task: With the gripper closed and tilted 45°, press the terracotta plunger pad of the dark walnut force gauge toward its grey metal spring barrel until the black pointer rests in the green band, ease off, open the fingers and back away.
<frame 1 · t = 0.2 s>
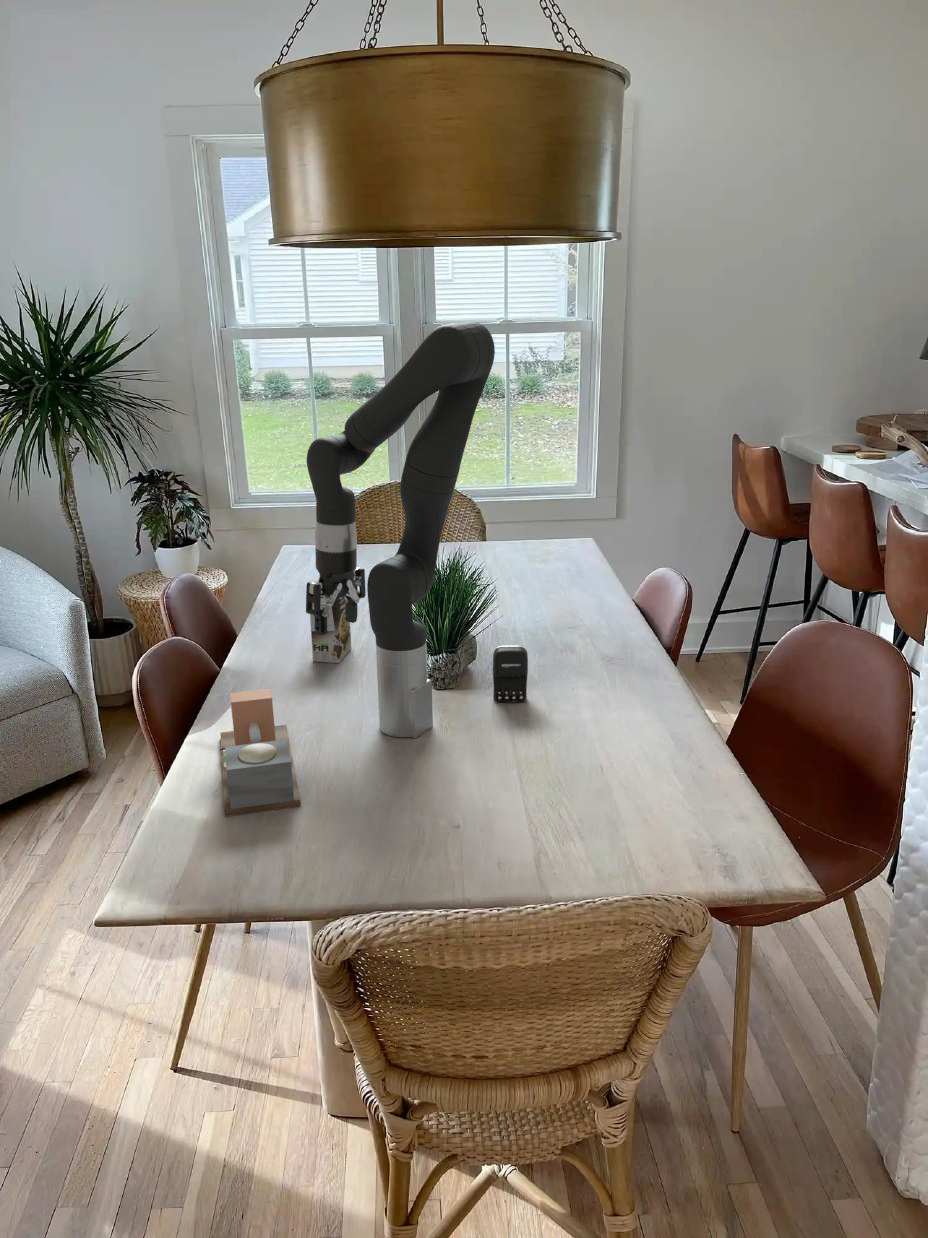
hand: (336, 627, 184), 18 cm above the table, tool pointing down, fingers open, 8 cm apart
coffee box: (332, 655, 218), on the table
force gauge: (258, 770, 169), on the table
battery: (510, 702, 194), on the table
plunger: (246, 728, 170), point 6 cm above the table, slide at 0.0 cm
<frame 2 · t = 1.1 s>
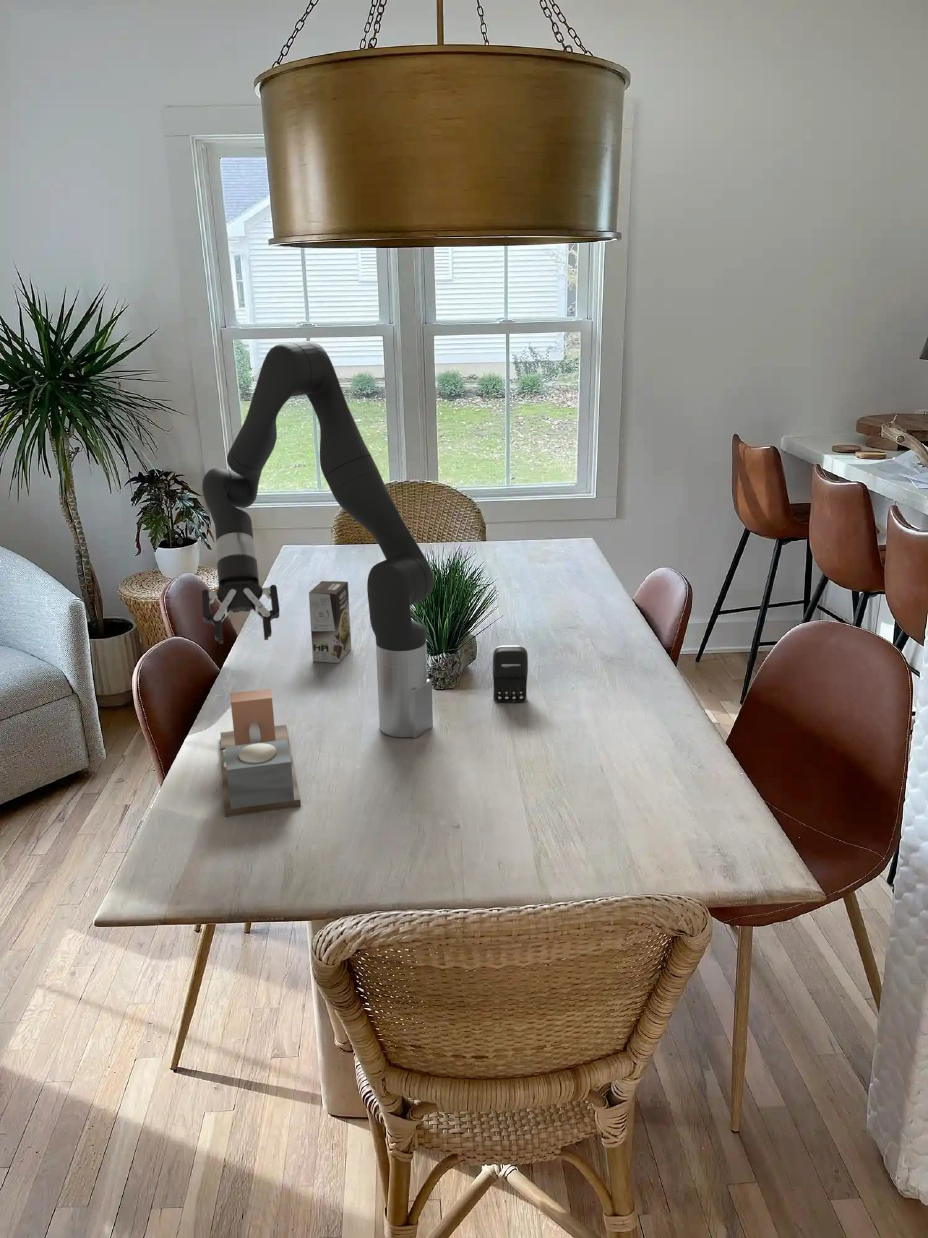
hand: (244, 640, 180), 17 cm above the table, tool tilted 45°, fingers open, 7 cm apart
nothing on the table moved.
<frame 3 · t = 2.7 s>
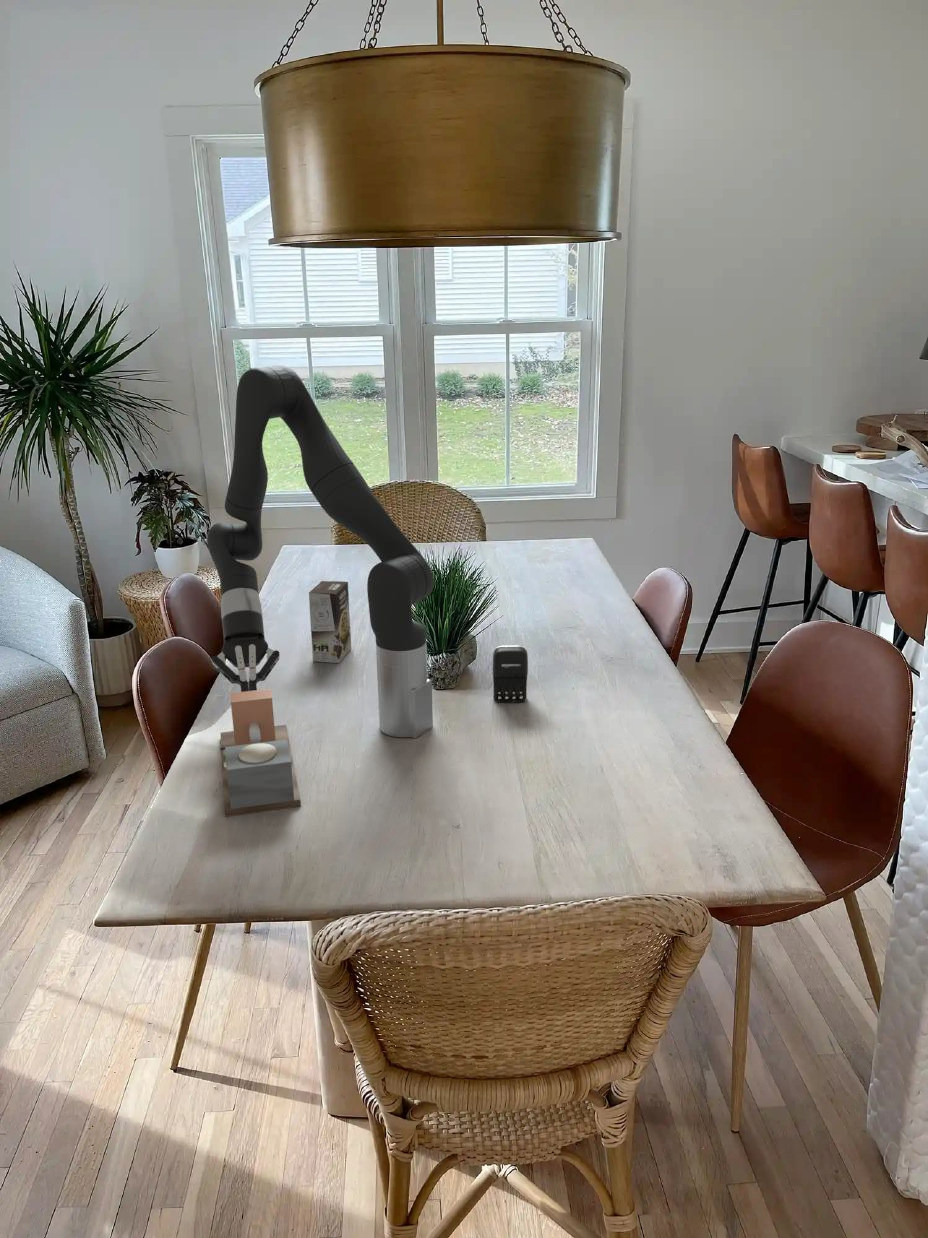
hand: (250, 702, 179), 7 cm above the table, tool tilted 45°, fingers closed
nothing on the table moved.
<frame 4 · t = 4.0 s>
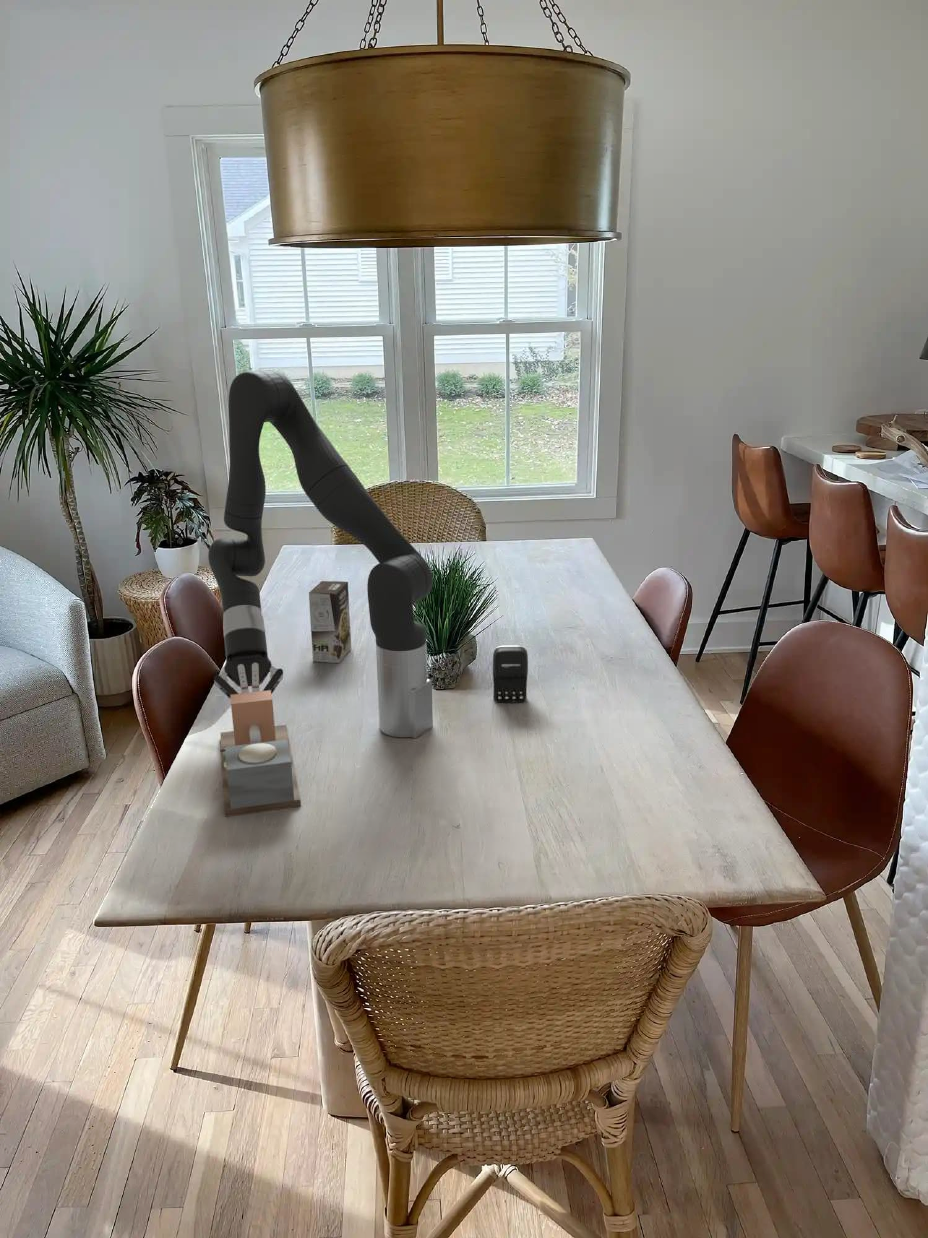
hand: (253, 722, 174), 5 cm above the table, tool tilted 45°, fingers closed
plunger: (246, 730, 169), point 7 cm above the table, slide at 0.7 cm, touching gripper
everything else where it was.
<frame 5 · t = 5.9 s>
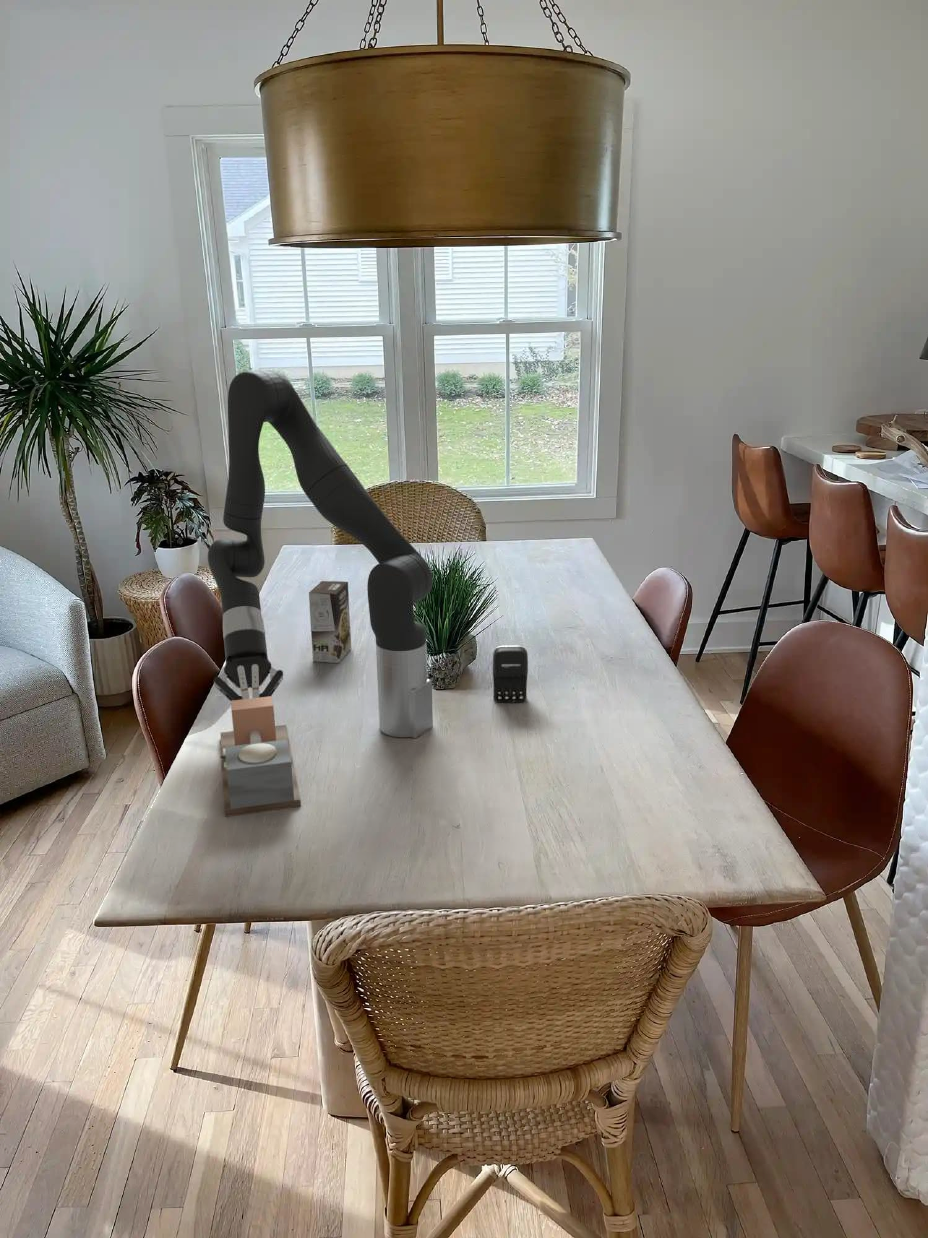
hand: (253, 724, 174), 5 cm above the table, tool tilted 45°, fingers closed
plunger: (247, 736, 167), point 6 cm above the table, slide at 3.3 cm
everything else where it was.
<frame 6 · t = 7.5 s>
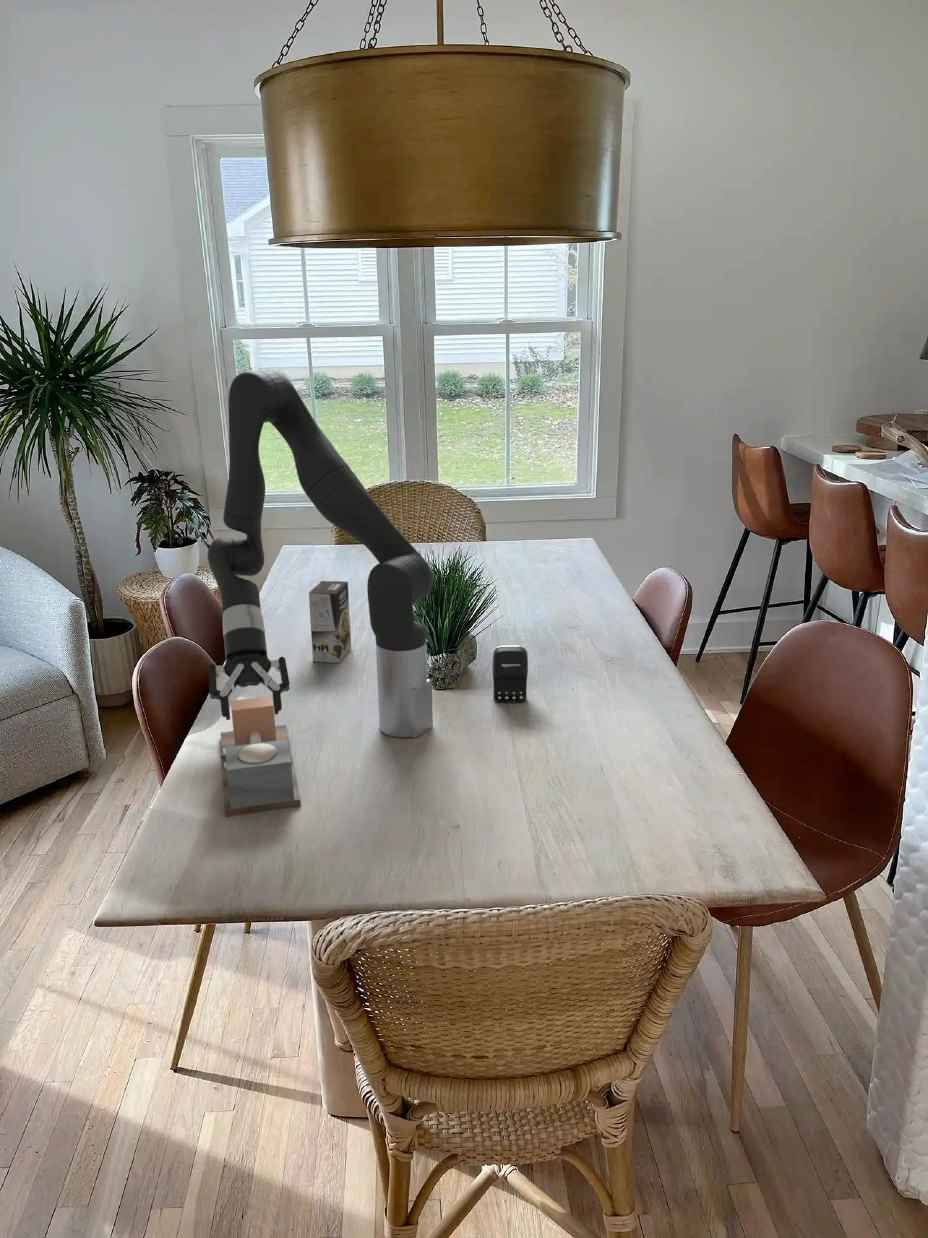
hand: (252, 715, 175), 6 cm above the table, tool tilted 45°, fingers open, 8 cm apart
nothing on the table moved.
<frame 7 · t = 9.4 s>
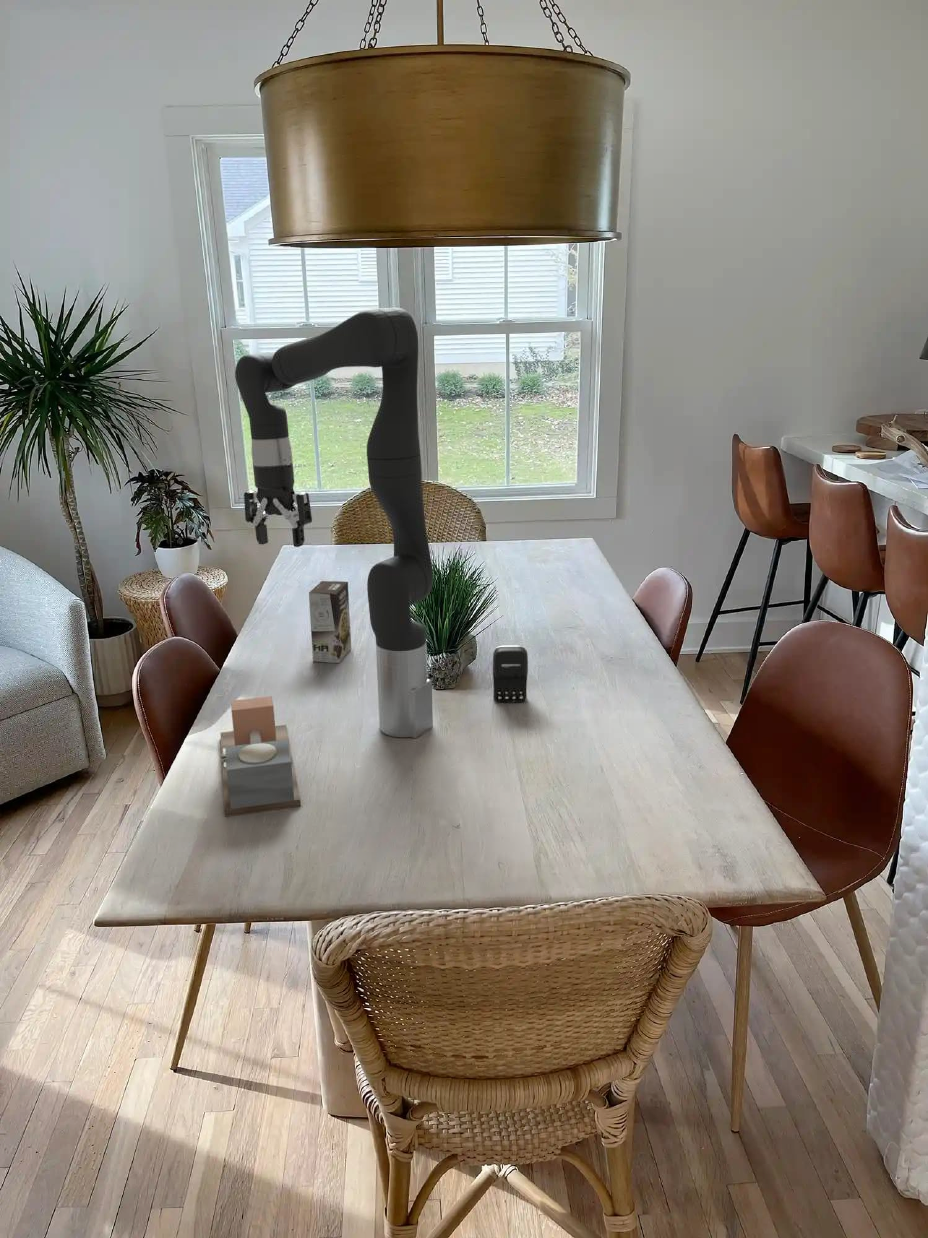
hand: (280, 545, 191), 31 cm above the table, tool pointing down, fingers open, 8 cm apart
nothing on the table moved.
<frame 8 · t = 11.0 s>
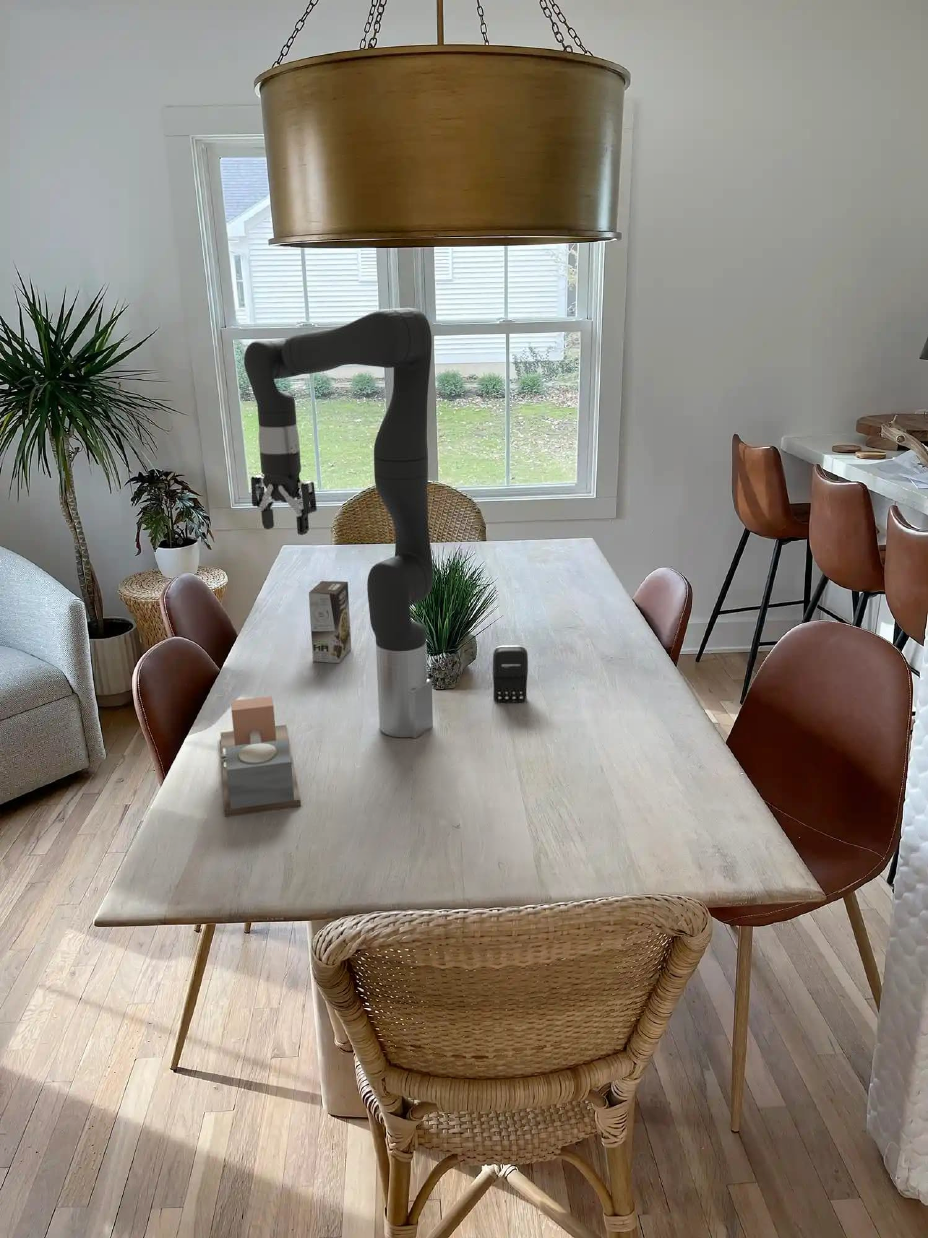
hand: (285, 531, 191), 33 cm above the table, tool pointing down, fingers open, 8 cm apart
nothing on the table moved.
at the end: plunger slide at 3.3 cm; coffee box moved 0.2 cm from its start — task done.
